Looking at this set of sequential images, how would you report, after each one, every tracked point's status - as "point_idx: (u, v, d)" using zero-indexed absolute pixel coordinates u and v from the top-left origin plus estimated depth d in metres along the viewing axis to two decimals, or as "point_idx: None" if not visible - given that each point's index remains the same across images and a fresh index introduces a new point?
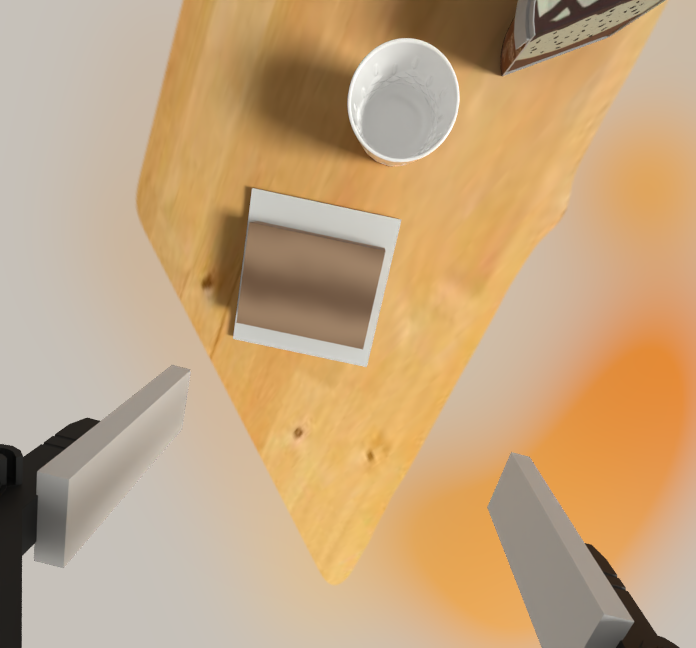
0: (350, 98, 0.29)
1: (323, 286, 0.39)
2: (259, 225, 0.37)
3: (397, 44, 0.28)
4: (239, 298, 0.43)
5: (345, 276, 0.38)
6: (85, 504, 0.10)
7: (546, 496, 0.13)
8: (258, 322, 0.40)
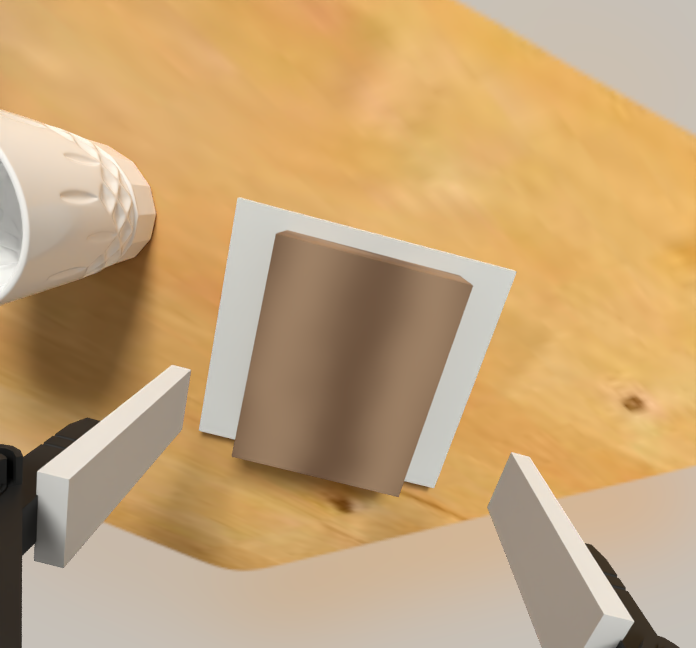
0: None
1: (341, 351, 0.21)
2: (236, 442, 0.23)
3: None
4: None
5: (323, 310, 0.20)
6: (85, 504, 0.10)
7: (546, 496, 0.13)
8: (400, 464, 0.23)
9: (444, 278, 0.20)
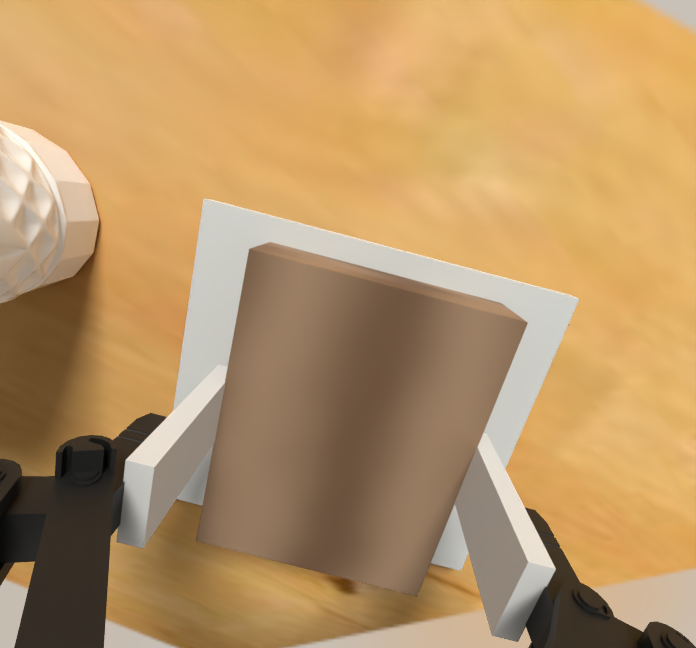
0: None
1: (341, 409, 0.15)
2: (201, 523, 0.17)
3: None
4: None
5: (316, 354, 0.15)
6: (161, 491, 0.11)
7: (495, 466, 0.14)
8: (421, 555, 0.17)
9: (487, 312, 0.14)
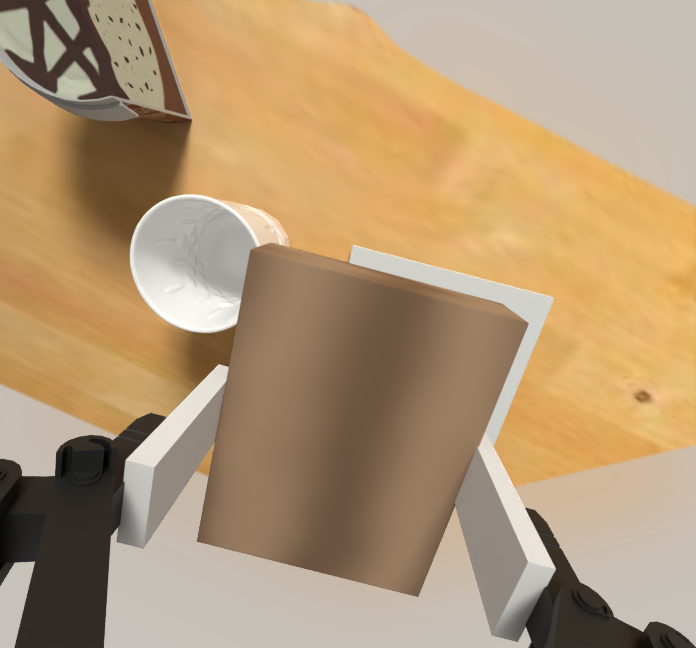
0: (195, 329, 0.24)
1: (342, 410, 0.15)
2: (202, 524, 0.17)
3: (138, 271, 0.23)
4: None
5: (318, 355, 0.15)
6: (161, 491, 0.11)
7: (495, 466, 0.14)
8: (421, 556, 0.17)
9: (488, 313, 0.14)
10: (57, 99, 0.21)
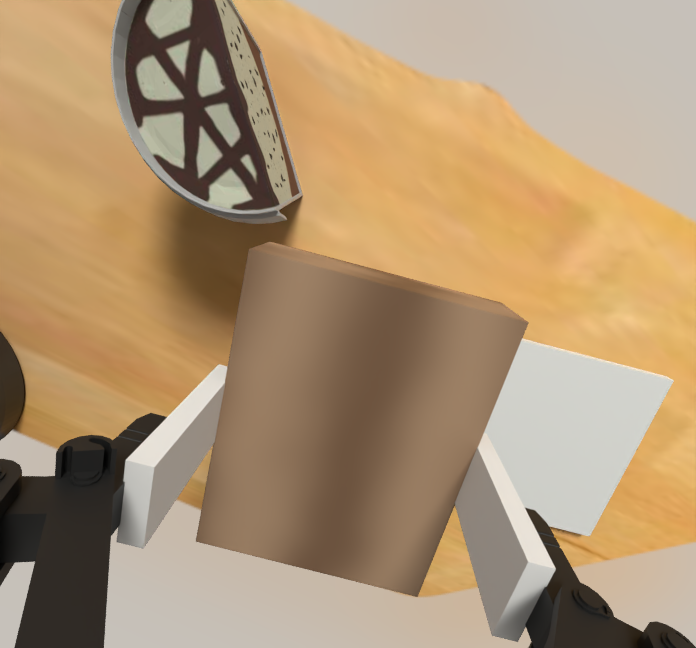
0: None
1: (341, 409, 0.15)
2: (201, 523, 0.17)
3: None
4: None
5: (317, 354, 0.15)
6: (161, 491, 0.11)
7: (495, 466, 0.14)
8: (421, 556, 0.17)
9: (487, 312, 0.14)
10: (208, 207, 0.20)
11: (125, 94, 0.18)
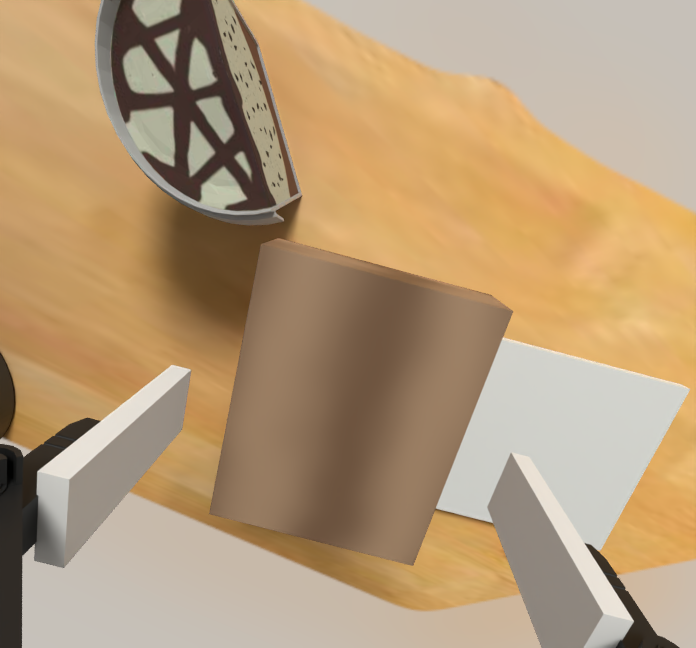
0: None
1: (343, 391, 0.17)
2: (214, 497, 0.19)
3: None
4: None
5: (322, 340, 0.16)
6: (85, 504, 0.10)
7: (546, 496, 0.13)
8: (416, 527, 0.18)
9: (476, 302, 0.15)
10: (200, 208, 0.19)
11: (111, 87, 0.17)
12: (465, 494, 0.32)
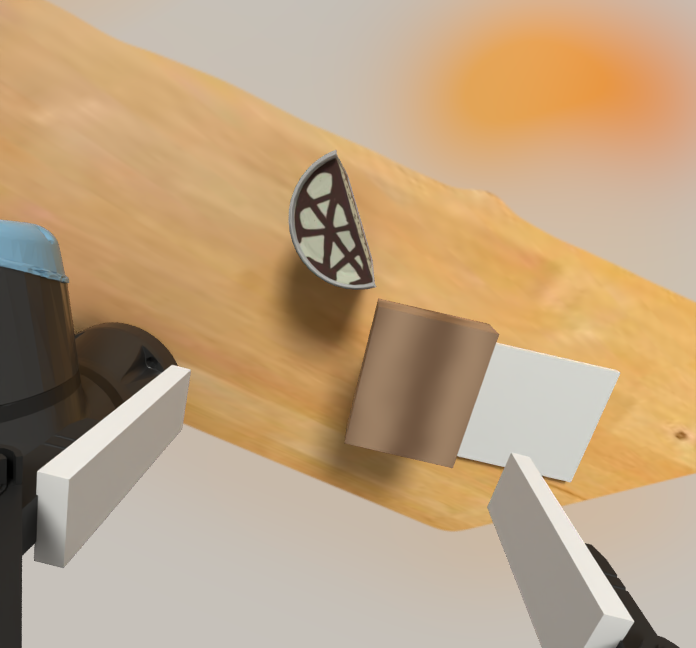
0: None
1: (417, 375, 0.34)
2: (348, 433, 0.36)
3: None
4: None
5: (406, 351, 0.33)
6: (85, 504, 0.10)
7: (546, 496, 0.13)
8: (454, 446, 0.35)
9: (481, 330, 0.32)
10: (335, 283, 0.36)
11: (294, 227, 0.35)
12: (479, 446, 0.49)
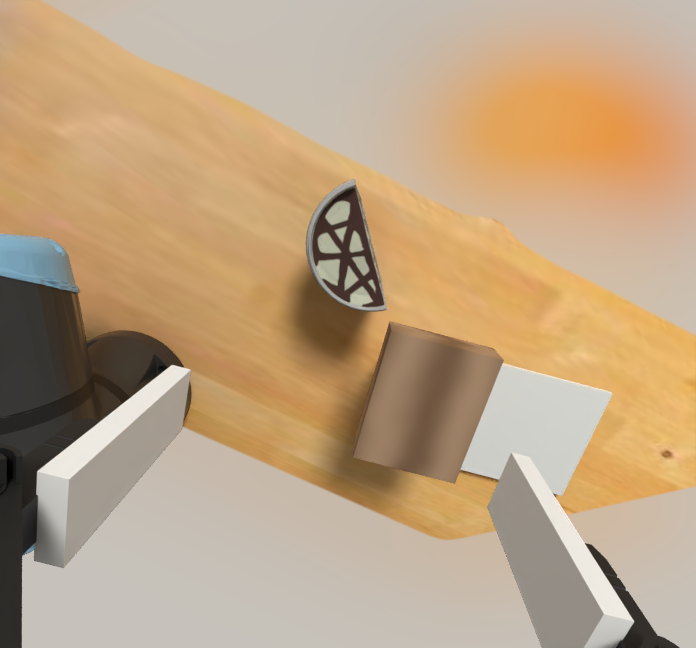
0: None
1: (424, 396, 0.36)
2: (356, 449, 0.38)
3: None
4: None
5: (415, 373, 0.35)
6: (85, 504, 0.10)
7: (546, 496, 0.13)
8: (457, 463, 0.37)
9: (487, 356, 0.34)
10: (349, 305, 0.37)
11: (311, 251, 0.36)
12: (476, 459, 0.51)
